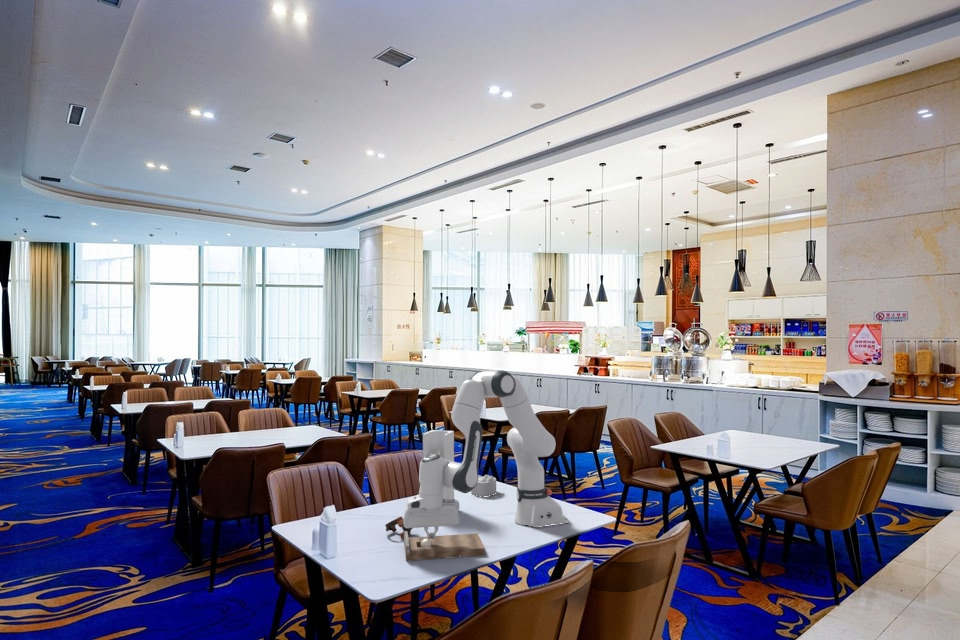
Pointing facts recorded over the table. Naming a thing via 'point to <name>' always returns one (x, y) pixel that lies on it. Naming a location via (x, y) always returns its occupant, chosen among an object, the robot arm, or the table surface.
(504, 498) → the table surface
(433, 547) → the board
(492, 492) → the lumpy-topped squat cylinder
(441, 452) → the white shelf tower
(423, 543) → the ball
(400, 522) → the brown looped piece
